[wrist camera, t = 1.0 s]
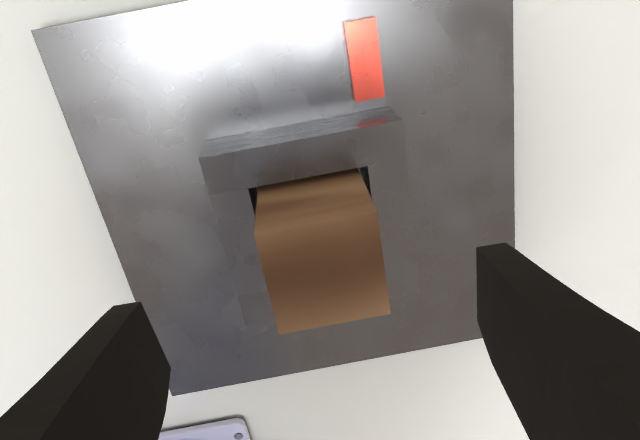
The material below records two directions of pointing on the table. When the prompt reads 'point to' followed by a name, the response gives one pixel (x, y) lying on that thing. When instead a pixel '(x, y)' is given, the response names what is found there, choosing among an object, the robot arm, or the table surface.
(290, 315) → the walnut post
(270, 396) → the table surface
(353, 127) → the dark grey stepped base
